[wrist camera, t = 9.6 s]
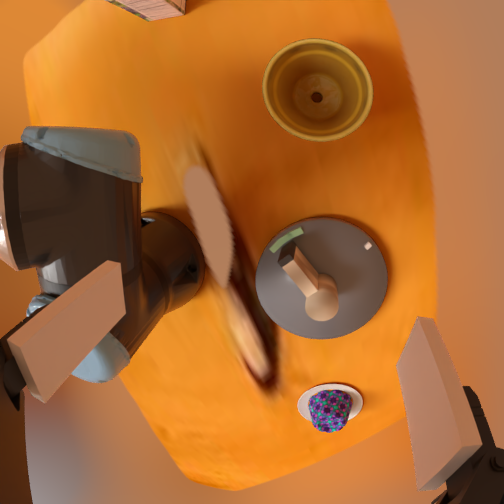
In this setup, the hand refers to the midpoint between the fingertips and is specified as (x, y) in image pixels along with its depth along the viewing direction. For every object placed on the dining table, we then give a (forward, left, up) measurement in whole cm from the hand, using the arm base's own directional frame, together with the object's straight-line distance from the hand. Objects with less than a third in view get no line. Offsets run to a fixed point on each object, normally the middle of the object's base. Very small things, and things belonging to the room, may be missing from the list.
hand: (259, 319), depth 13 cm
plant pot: (+10, +6, -29) cm, 31 cm away
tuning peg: (-7, -8, -27) cm, 29 cm away
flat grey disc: (-7, -11, -29) cm, 32 cm away
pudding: (-23, -31, -29) cm, 48 cm away
